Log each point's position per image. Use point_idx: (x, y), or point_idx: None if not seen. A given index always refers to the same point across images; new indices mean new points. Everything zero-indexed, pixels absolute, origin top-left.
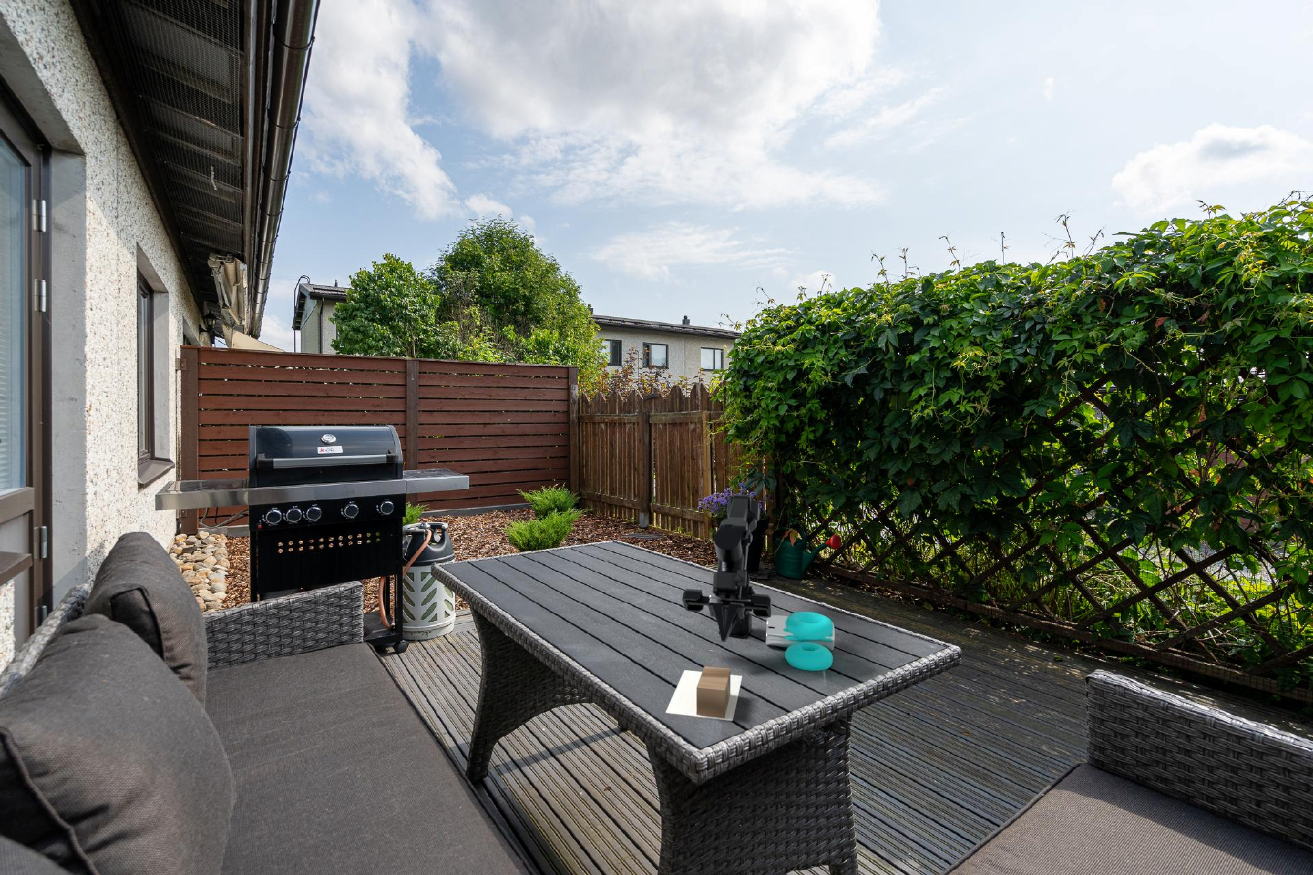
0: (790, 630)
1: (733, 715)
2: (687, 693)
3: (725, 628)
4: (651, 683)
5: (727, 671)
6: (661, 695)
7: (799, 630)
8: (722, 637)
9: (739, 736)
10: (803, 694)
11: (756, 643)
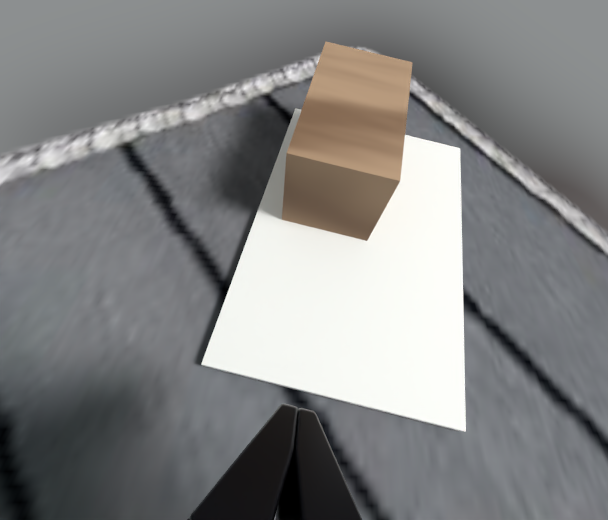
0: None
1: (289, 124)
2: (420, 232)
3: (272, 482)
4: (555, 326)
5: (302, 134)
6: (494, 244)
7: None
8: (305, 416)
9: (286, 78)
10: (10, 229)
11: None
